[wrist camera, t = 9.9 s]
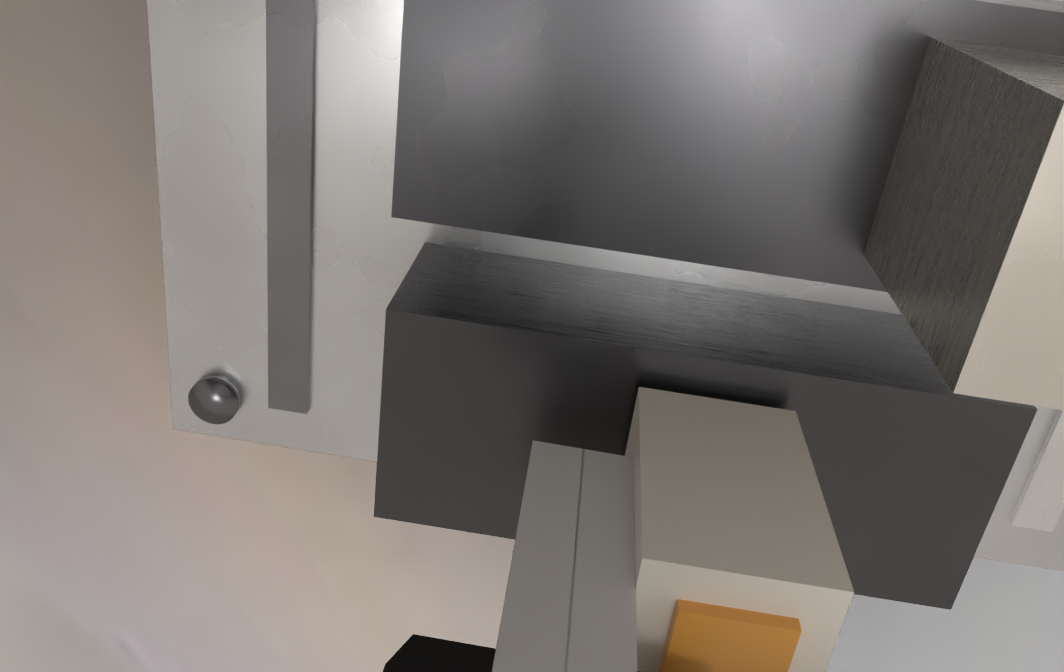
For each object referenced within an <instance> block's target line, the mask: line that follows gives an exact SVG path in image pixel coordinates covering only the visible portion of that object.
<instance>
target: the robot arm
mask: <svg viewBox="0 0 1064 672" xmlns="http://www.w3.org/2000/svg"><path fill="white" fill-rule="evenodd" d="M383 672H640V671H637V612H636V583H635V504H634V457H628V456H622V455H616V454H610V453H604V452H599V451H593V450H587V449H581V448H575V447H569V446H563V445H557V444H552V443H546V442H540V441H534V440H533V442H532V448H531V454H530V459H529V465H528V471H527V476H526V482H525V488H524V493H523V499H522V505H521V510H520V516H519V522H518V527H517V533H516V539H515V544H514V550H513V556H512V561H511V567H510V572H509V578H508V584H507V589H506V595H505V601H504V606H503V612H502V618H501V623H500V629H499V635H498V640H497V646H496V649H494V648H488V647H482V646H477V645H471V644H465V643H460V642H454V641H448V640H443V639H437V638H431V637H426V636H420V635H414V634H413V635H412V636H411V637H410V638H409V639H408V640H407V642H406V643H405V644H404V645H403V646H402V647H401V648H400V649H399V650H398V651H397V652H396V653H395V655H394V656H393V657H392V658H391V659H390V660H389V661H388V662H387V663H386V664H385V667H384V670H383Z"/></svg>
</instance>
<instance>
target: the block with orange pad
mask: <svg viewBox="0 0 1064 672" xmlns="http://www.w3.org/2000/svg"><path fill="white" fill-rule="evenodd" d="M625 456H628V457H634V504H635V583H636V612H637V671H640V672H825V671H826V668H827V666H828V663H829V660H830V657H831V655H832V652H833V649H834V647H835V644H836V641H837V638H838V636H839V633H840V630H841V627H842V625H843V622H844V619H845V617H846V614H847V611H848V608H849V606H850V603H851V600H852V598H853V595H854V590H853V587H852V584H851V580H850V577H849V574H848V571H847V568H846V565H845V562H844V559H843V556H842V553H841V550H840V546H839V543H838V540H837V537H836V534H835V531H834V528H833V525H832V522H831V519H830V515H829V512H828V509H827V506H826V503H825V500H824V497H823V494H822V491H821V488H820V485H819V481H818V478H817V475H816V472H815V469H814V466H813V463H812V460H811V457H810V454H809V451H808V447H807V444H806V441H805V438H804V435H803V432H802V429H801V426H800V423H799V420H798V416H797V413H796V411H792V410H785V409H779V408H772V407H766V406H760V405H753V404H747V403H740V402H734V401H727V400H721V399H715V398H708V397H702V396H695V395H689V394H682V393H676V392H669V391H663V390H657V389H650V388H644V387H639V388H638V393H637V398H636V403H635V408H634V413H633V418H632V422H631V427H630V432H629V437H628V442H627V447H626V452H625Z"/></svg>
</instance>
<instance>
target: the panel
mask: <svg viewBox="0 0 1064 672" xmlns="http://www.w3.org/2000/svg"><path fill="white" fill-rule="evenodd" d="M147 11H148V27H149V44H150V60H151V76H152V93H153V109H154V125H155V142H156V158H157V174H158V191H159V207H160V223H161V240H162V256H163V272H164V289H165V305H166V321H167V337H168V354H169V370H170V386H171V403H172V419H173V429H174V430H181V431H187V432H193V433H200V434H206V435H212V436H218V437H225V438H231V439H237V440H244V441H250V442H256V443H262V444H269V445H275V446H281V447H287V448H294V449H300V450H306V451H313V452H319V453H325V454H331V455H338V456H344V457H350V458H357V459H363V460H369V461H375V462H377V472H376V490H375V507H374V517H380V518H386V519H392V520H398V521H405V522H411V523H417V524H423V525H429V526H436V527H442V528H448V529H454V530H460V531H467V532H473V533H479V534H485V535H491V536H498V537H504V538H510V539H516V533H517V527H518V522H519V516H520V510H521V505H522V499H523V493H524V488H525V482H526V476H527V471H528V465H529V459H530V454H531V448H532V442H533V440H534V441H540V442H546V443H552V444H557V445H563V446H569V447H575V448H581V449H587V450H593V451H599V452H604V453H610V454H616V455H622V456H625V452H626V447H627V442H628V437H629V432H630V427H631V422H632V418H633V413H634V408H635V403H636V398H637V393H638V388H639V387H644V388H650V389H657V390H663V391H669V392H676V393H682V394H689V395H695V396H702V397H708V398H715V399H721V400H727V401H734V402H740V403H747V404H753V405H760V406H766V407H772V408H779V409H785V410H792V411H796V413H797V416H798V420H799V423H800V426H801V429H802V432H803V435H804V438H805V441H806V444H807V447H808V451H809V454H810V457H811V460H812V463H813V466H814V469H815V472H816V475H817V478H818V481H819V485H820V488H821V491H822V494H823V497H824V500H825V503H826V506H827V509H828V512H829V515H830V519H831V522H832V525H833V528H834V531H835V534H836V537H837V540H838V543H839V546H840V550H841V553H842V556H843V559H844V562H845V565H846V568H847V571H848V574H849V577H850V580H851V584H852V587H853V590H854V594H857V595H864V596H870V597H876V598H882V599H888V600H895V601H901V602H907V603H913V604H920V605H926V606H932V607H938V608H944V609H951V608H952V606H953V603H954V601H955V599H956V596H957V594H958V592H959V589H960V587H961V585H962V582H963V580H964V578H965V576H966V573H967V571H968V569H969V566H970V564H971V562H972V559H973V557H978V558H984V559H990V560H997V561H1003V562H1009V563H1016V564H1022V565H1028V566H1034V567H1041V568H1047V569H1053V570H1060V571H1064V0H147Z"/></svg>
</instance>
